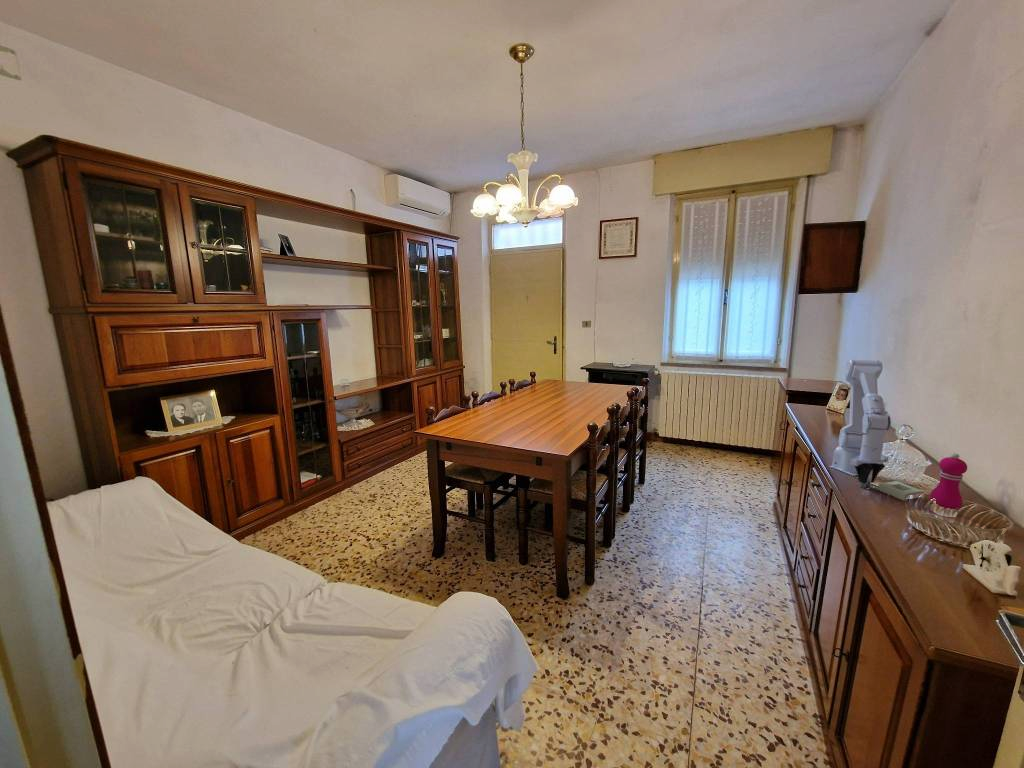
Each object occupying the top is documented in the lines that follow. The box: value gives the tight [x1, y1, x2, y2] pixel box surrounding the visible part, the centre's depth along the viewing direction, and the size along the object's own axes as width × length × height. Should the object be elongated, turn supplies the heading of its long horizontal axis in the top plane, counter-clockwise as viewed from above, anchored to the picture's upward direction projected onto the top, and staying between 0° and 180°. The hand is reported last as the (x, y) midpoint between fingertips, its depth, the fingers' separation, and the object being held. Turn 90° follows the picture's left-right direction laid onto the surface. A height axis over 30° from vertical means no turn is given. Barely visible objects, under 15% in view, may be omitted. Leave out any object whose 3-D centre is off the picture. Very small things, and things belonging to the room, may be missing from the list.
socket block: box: [877, 480, 924, 502], centre depth 144 cm, size 8×8×2 cm
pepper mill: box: [929, 452, 968, 509], centre depth 129 cm, size 7×7×20 cm
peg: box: [859, 465, 874, 489], centre depth 148 cm, size 3×3×8 cm
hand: (865, 482), depth 149 cm, fingers closed on peg, 3 cm apart
